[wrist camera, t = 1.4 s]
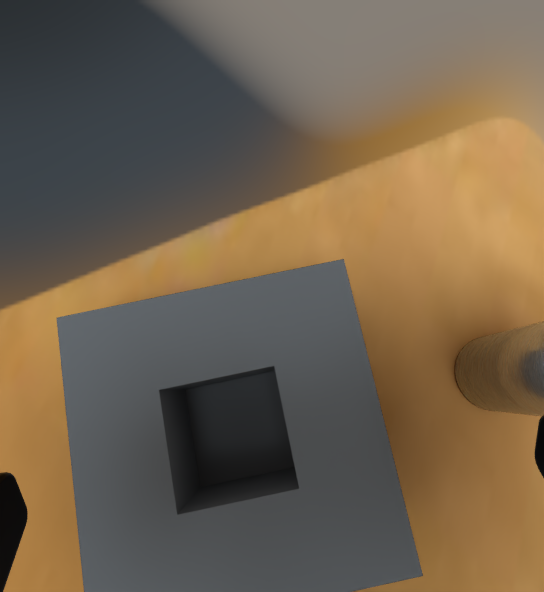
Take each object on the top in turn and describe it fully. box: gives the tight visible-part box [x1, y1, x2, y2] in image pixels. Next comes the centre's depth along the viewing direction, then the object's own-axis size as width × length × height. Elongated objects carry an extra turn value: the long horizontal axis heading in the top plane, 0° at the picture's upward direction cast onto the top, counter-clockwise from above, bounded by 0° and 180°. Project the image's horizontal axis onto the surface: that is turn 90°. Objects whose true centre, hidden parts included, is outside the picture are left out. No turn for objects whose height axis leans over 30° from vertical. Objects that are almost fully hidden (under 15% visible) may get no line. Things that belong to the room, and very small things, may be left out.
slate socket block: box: [57, 259, 423, 592], centre depth 21 cm, size 13×13×6 cm
